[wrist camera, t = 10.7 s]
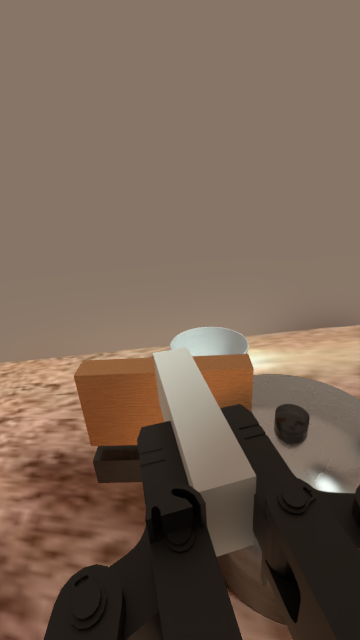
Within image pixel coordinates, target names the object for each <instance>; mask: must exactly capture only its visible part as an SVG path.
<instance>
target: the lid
mask: <svg viewBox="0 0 360 640" xmlns="http://www.w3.org/2000/svg"><path fill="white" fill-rule="evenodd" d="M192 357H193V359H194V361H195V363H196V365H197V367H198V368H199V370H200V372H201V374H202V376H203V378H204V380H205V381H206V383H207V385H208V387H209V389H210V391H211V393H212V394H213V396H214V398H215V400H216V402H217V404H218V406H219V407H220V408H224V407H228V406H232V405H237V404H241V405H242V406H244V407H245V408H246V409H248V410H249V411H251V412H252V413H253V415H254V416H255V418H256V419H257V421H258V422H259V425H260V426H261V427H262V428H263V430H264V431H265V433H266V435H267V436H268V437H269V439H270V440H271V442H272V443H273V445H274V446H275V448H276V449H277V451H278V452H279V454H280V455H281V456H282V458H283V459H284V461H285V462H286V464H287V465H288V467H289V468H290V470H291V471H292V473H293V474H294V475H295V476H296V477H297V478H299V479H301V480H303V481H305V482H306V483H308V484H310V485H311V486H312V487H313V488H314V489H317V490H320V491H325V492H337V493H355V492H356V489H357V487H358V486H359V485H360V400H359V399H357V398H356V397H354V396H352V395H350V394H348V393H346V392H344V391H342V390H340V389H338V388H336V387H333V386H331V385H328V384H325V383H322V382H319V381H316V380H312V379H308V378H303V377H298V376H291V375H281V374H263V375H253V366H252V363H251V361H250V358H249V355H248V354H232V355H208V356H192ZM74 379H75V383H76V387H77V391H78V395H79V399H80V403H81V407H82V411H83V415H84V419H85V423H86V427H87V431H88V435H89V439H90V443H91V446H118V445H137V438H138V436H139V433H140V430H141V427H145V426H149V425H153V424H158V423H162V422H164V419H163V415H162V412H161V408H160V404H159V396H158V389H157V381H156V374H155V366H154V359H153V358H137V359H113V360H89V361H83V362H82V363H81V365H80V366H79V368H78V370H77V371H76V373H75V375H74Z"/></svg>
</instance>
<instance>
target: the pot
mask: <svg viewBox="0 0 360 640" xmlns="http://www.w3.org/2000/svg"><path fill="white" fill-rule="evenodd" d="M93 464H94V467H95V471H96V475H97V479H98V483H116V482H142V474H141V467H140V460H139V452H138V445H118V446H98V448H97V451H96V454H95V457H94V460H93ZM217 560H218V563H219V566H220V570H221V573H222V576H223V579H224V582H225V584H226V585H227V586H228V587H229V588H230V590H231V591H232V592H233V593H234V594H235V595H236V596H237V597H238V598H239V599H241V600H242V601H243V602H244V603H245V604H247V605H248V606H249V607H251V608H252V609H253V610H255V611H256V612H258V613H260V614H262V615H263V616H265V617H267V618H269V619H272V620H274V621H277V622H279V623H281V624H285V625H287V623H286V621H285V618H284V616H283V614H282V611H281V609H280V606H279V604H278V602H277V599H276V597H275V595H274V592H273V590H272V587H271V585H270V583H269V580H268V579H267V585H266V586H263V584H262V580H261V561H262V550H261V548H260V546H259V543H258V541H257V539H256V537H255V534H254V545H252V546H249V547H245V548H242V549H239V550H236V551H233V552H230V553H227V554H224V555H221V556H218V557H217Z"/></svg>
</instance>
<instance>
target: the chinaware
mask: <svg viewBox="0 0 360 640" xmlns="http://www.w3.org/2000/svg"><path fill="white" fill-rule="evenodd" d="M183 347H187V348H188V350H189V352H190V354H191V355H192V356H208V355H232V354H247V352H248V347H249V344H248V341H247V339H246V338H245V337H244V336H243V335H242V334H240V333H238V332H236V331H233V330H230V329H227V328H221V327H200V328H195V329H190V330H187V331H184V332H182V333H180V334H179V335H177V336H176V337H175V338H174V339H173V340H172V341H171V344H170V350H173V349H178V348H183Z"/></svg>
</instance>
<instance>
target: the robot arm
mask: <svg viewBox="0 0 360 640" xmlns="http://www.w3.org/2000/svg"><path fill="white" fill-rule="evenodd" d="M153 359H154V366H155V374H156V381H157V389H158V396H159V404H160V408H161V412H162V415H163V419H164V422H162V423H158V424H153V425H149V426H145V427H141V430H140V433H139V436H138V438H137V445H138V452H139V460H140V467H141V474H142V482H143V489H144V497H145V504H146V519H145V521H146V528H145V531H144V533H143V535H142V538H141V540H140V541H139V542H138V544H137V545H136V546H135V548H134V549H132V550H131V551H130V552H129V553H128V554H127V555H125V556H124V557H123V558H121V559H120V560H118V561H117V562H116V563H114V564H113V565H111V566H110V567H107V566H102V565H97V564H96V565H92V566H88V567H85V568H83V569H82V570H80V571H79V572H77V573H76V574H74V575H73V576H72V577H71V578H70V579H69V580H68V582H67V583H66V584H65V585H64V587H63V588H62V589H61V591H60V593H59V595H58V598H57V600H56V602H55V604H54V607H53V610H52V614H51V617H50V620H49V624H48V627H47V630H46V633H45V637H44V640H242V637H241V633H240V630H239V627H238V624H237V621H236V617H235V614H234V611H233V608H232V605H231V601H230V598H229V595H228V592H227V589H226V585H225V582H224V579H223V576H222V573H221V570H220V566H219V563H218V560H217V557H218V556H221V555H224V554H227V553H230V552H233V551H236V550H239V549H242V548H245V547H249V546H252V545H254V534H255V537H256V539H257V541H258V543H259V546H260V548H261V550H262V561H261V580H262V584H263V586H266V585H267V579H268V580H269V583H270V585H271V587H272V590H273V592H274V595H275V597H276V599H277V602H278V604H279V606H280V609H281V611H282V614H283V616H284V618H285V621H286V623H287V625H288V628H289V630H290V632H291V635H292V637H293V640H360V485H359V486H358V487H357V489H356V492H355V493H337V492H325V491H320V490H317V489H314V488H313V487H312V486H311V485H310V484H308V483H306V482H305V481H303V480H301V479H299V478H297V477H296V476H295V475H294V474H293V473H292V471H291V470H290V468H289V467H288V465H287V464H286V462H285V461H284V459H283V458H282V456H281V455H280V454H279V452H278V451H277V449H276V448H275V446H274V445H273V443H272V442H271V440H270V439H269V437H268V436H267V435H266V433H265V431H264V430H263V428H262V427H261V426H260V425H259V422H258V421H257V419H256V418H255V416H254V415H253V413H252V412H251V411H249V410H248V409H246V408H245V407H244V406H242V405H241V404H237V405H232V406H228V407H224V408H220V407H219V406H218V404H217V402H216V400H215V398H214V396H213V394H212V393H211V391H210V389H209V387H208V385H207V383H206V381H205V380H204V378H203V376H202V374H201V372H200V370H199V368H198V367H197V365H196V363H195V361H194V359H193V357H192V355H191V354H190V352H189V350H188V348H187V347H183V348H178V349H173V350H167V351H162V352H156V353H153Z"/></svg>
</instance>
